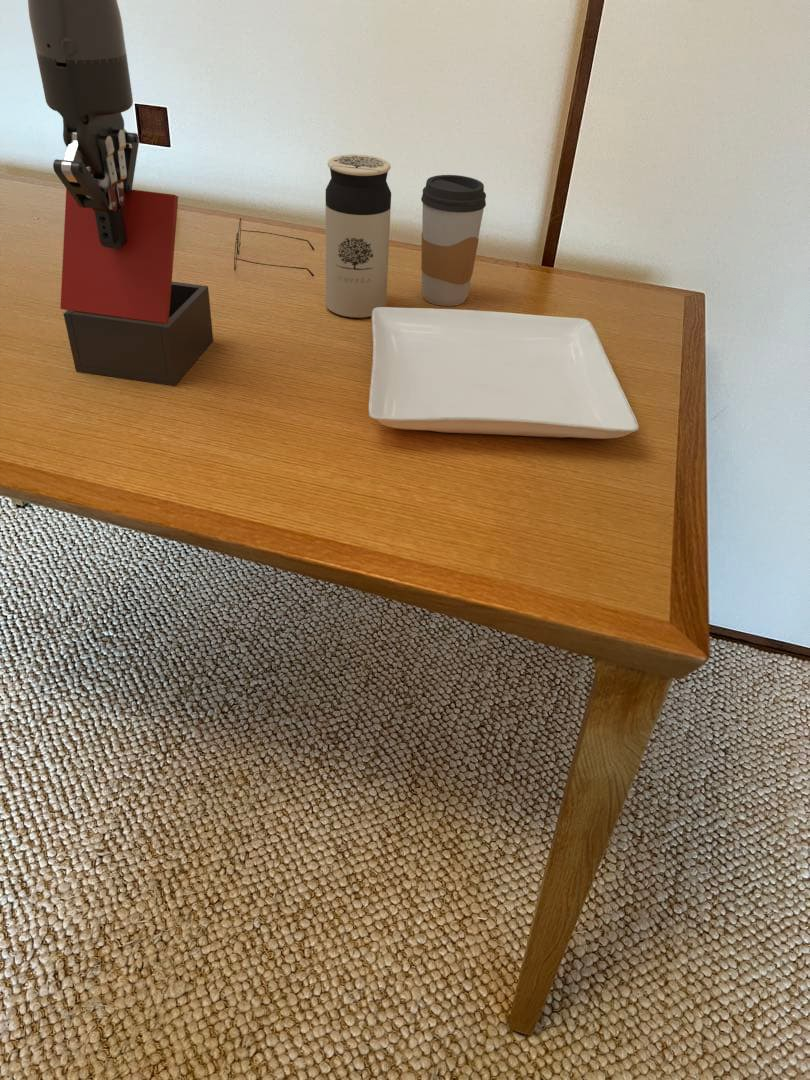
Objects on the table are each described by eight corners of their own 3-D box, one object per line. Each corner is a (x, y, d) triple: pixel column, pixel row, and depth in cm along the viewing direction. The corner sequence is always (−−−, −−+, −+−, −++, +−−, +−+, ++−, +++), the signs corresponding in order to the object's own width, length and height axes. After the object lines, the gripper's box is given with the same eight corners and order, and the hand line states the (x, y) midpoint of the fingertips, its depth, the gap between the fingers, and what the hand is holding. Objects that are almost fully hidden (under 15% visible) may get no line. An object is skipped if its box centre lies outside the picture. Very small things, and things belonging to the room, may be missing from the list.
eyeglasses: (314, 247, 124) (314, 213, 121) (314, 279, 114) (313, 243, 111) (239, 245, 123) (237, 211, 119) (232, 277, 113) (230, 241, 110)
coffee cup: (446, 281, 117) (457, 170, 107) (486, 301, 112) (501, 187, 102) (401, 293, 112) (408, 178, 103) (441, 314, 108) (452, 197, 98)
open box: (122, 328, 99) (112, 273, 95) (213, 340, 98) (208, 286, 93) (75, 371, 90) (63, 313, 86) (175, 386, 89) (167, 327, 85)
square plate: (634, 459, 83) (643, 426, 80) (366, 448, 81) (367, 414, 79) (585, 341, 104) (591, 313, 101) (371, 331, 102) (372, 301, 100)
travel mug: (337, 291, 111) (338, 150, 100) (393, 301, 110) (400, 159, 99) (316, 313, 105) (315, 166, 94) (375, 324, 104) (381, 175, 93)
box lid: (70, 183, 83) (66, 181, 82) (178, 196, 82) (175, 194, 81) (64, 309, 86) (60, 308, 85) (168, 324, 85) (165, 323, 84)
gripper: (77, 33, 77) (109, 220, 88) (-2, 55, 67) (45, 264, 78) (153, 41, 76) (175, 229, 87) (85, 64, 66) (120, 274, 77)
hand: (114, 245), depth 82 cm, fingers closed
